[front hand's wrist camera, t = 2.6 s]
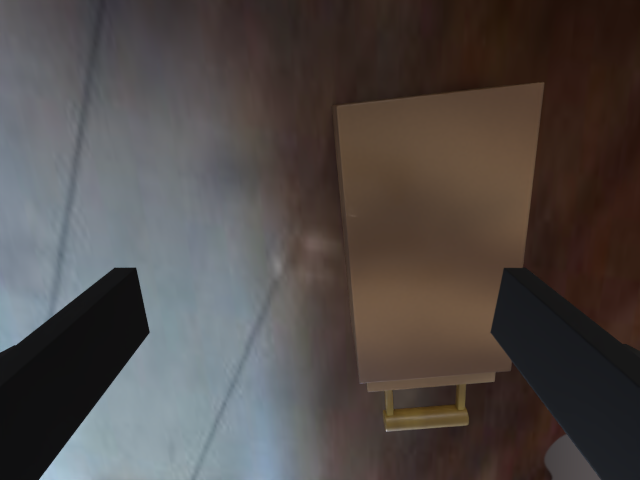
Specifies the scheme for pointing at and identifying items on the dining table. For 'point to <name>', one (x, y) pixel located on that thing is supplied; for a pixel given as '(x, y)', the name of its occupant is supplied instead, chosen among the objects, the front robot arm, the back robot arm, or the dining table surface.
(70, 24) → the dining table surface
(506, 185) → the cabinet
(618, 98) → the dining table surface
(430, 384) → the drawer
